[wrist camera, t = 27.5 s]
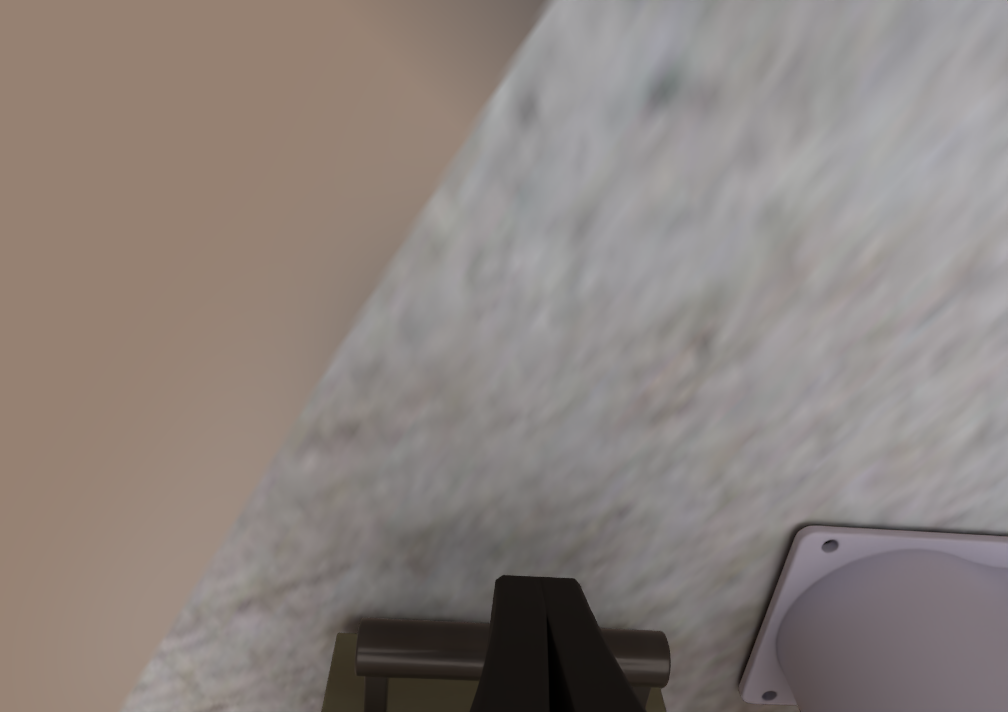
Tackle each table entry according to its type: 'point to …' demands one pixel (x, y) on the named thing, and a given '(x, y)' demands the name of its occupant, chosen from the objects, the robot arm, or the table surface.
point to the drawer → (456, 666)
